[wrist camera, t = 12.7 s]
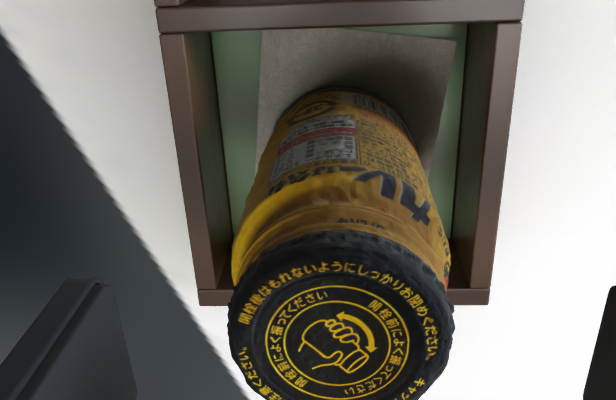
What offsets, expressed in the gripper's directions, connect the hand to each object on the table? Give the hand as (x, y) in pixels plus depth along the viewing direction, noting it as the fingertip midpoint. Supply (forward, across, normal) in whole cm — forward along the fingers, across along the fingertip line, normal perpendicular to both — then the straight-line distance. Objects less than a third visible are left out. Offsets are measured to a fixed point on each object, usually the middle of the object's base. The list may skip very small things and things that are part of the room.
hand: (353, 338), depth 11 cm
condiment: (+14, 0, +1) cm, 14 cm away
